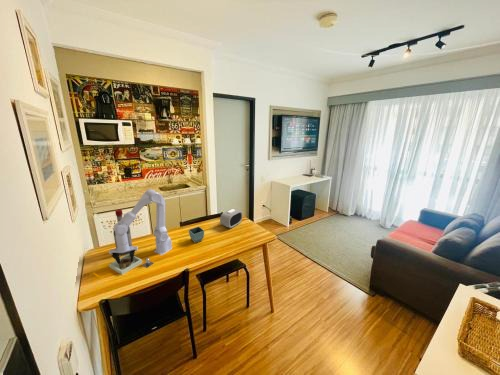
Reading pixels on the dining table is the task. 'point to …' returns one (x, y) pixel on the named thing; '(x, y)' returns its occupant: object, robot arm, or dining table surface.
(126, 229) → the robot arm
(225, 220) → the alarm clock
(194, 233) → the flower pot
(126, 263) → the ring
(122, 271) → the tray
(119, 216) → the liquor
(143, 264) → the grey piece
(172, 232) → the dining table surface
